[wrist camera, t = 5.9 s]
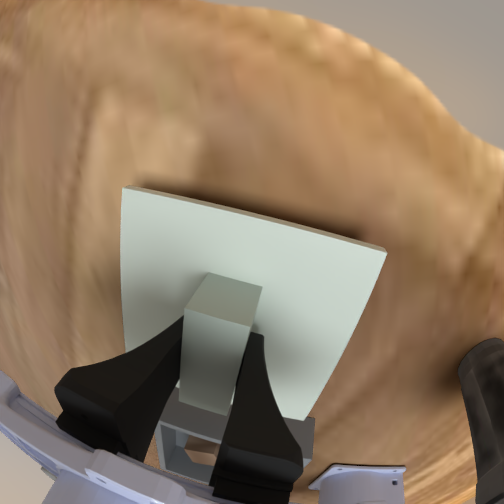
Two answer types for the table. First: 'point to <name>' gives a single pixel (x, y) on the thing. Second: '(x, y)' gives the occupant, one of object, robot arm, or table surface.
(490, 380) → the beverage cup
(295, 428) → the storage box
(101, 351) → the table surface
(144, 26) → the table surface
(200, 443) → the wooden block
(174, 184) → the table surface
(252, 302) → the lid
